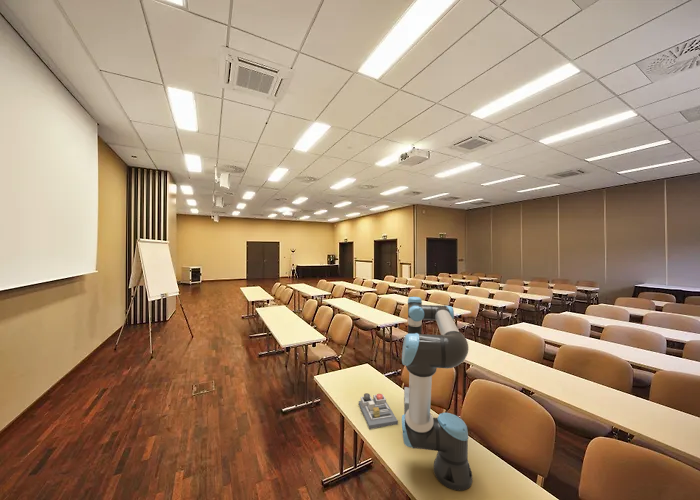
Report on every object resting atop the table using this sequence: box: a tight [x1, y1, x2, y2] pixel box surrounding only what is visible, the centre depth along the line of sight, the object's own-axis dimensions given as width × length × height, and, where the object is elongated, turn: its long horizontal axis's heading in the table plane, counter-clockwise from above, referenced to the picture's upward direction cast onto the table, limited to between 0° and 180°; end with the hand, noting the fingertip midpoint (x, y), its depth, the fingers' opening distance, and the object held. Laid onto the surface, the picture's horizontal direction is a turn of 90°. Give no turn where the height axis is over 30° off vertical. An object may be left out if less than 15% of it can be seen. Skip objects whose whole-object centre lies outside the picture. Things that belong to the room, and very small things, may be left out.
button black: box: [363, 393, 371, 402], centre depth 156 cm, size 4×4×3 cm
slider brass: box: [373, 407, 380, 418], centre depth 145 cm, size 3×3×4 cm
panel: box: [358, 393, 399, 430], centre depth 151 cm, size 22×16×5 cm
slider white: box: [368, 401, 375, 412], centre depth 151 cm, size 3×3×4 cm
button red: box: [376, 393, 384, 400], centre depth 158 cm, size 4×4×3 cm
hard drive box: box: [403, 386, 409, 415], centre depth 135 cm, size 16×8×20 cm, turn 168°
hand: (414, 366), depth 148 cm, fingers closed
